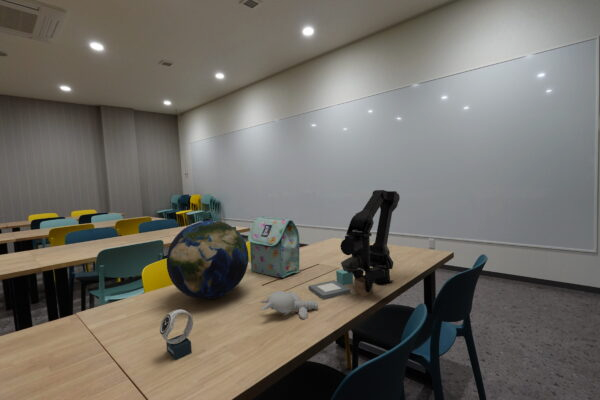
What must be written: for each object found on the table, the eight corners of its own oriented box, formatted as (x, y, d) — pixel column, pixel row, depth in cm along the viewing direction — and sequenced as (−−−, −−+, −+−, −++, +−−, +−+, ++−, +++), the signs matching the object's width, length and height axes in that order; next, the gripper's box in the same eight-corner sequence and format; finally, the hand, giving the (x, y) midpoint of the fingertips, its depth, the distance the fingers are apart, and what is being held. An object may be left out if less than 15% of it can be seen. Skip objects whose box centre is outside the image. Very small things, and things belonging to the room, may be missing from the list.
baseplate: (334, 283, 123) (334, 280, 123) (350, 293, 112) (350, 289, 112) (308, 289, 118) (308, 285, 118) (323, 299, 107) (322, 295, 107)
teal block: (346, 280, 127) (346, 268, 127) (353, 283, 122) (352, 271, 122) (336, 282, 125) (336, 270, 125) (343, 285, 120) (342, 273, 120)
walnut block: (365, 289, 115) (364, 276, 115) (373, 293, 111) (372, 280, 110) (354, 291, 113) (353, 279, 113) (362, 296, 109) (361, 282, 108)
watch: (159, 355, 76) (156, 313, 76) (189, 342, 82) (186, 304, 81) (166, 364, 72) (163, 320, 72) (198, 350, 78) (195, 309, 77)
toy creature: (325, 307, 93) (263, 309, 87) (320, 325, 95) (259, 328, 89) (313, 282, 104) (258, 282, 98) (309, 299, 107) (254, 300, 100)
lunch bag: (246, 272, 144) (243, 218, 142) (271, 264, 156) (268, 214, 155) (280, 281, 129) (277, 220, 127) (304, 271, 141) (301, 216, 140)
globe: (213, 279, 136) (208, 215, 134) (265, 288, 121) (261, 216, 119) (152, 304, 110) (145, 225, 108) (209, 320, 95) (203, 228, 93)
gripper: (331, 247, 116) (332, 286, 117) (359, 258, 99) (360, 303, 100) (354, 244, 121) (355, 281, 122) (385, 253, 104) (386, 296, 105)
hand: (363, 289), depth 112 cm, fingers closed on walnut block, 5 cm apart
